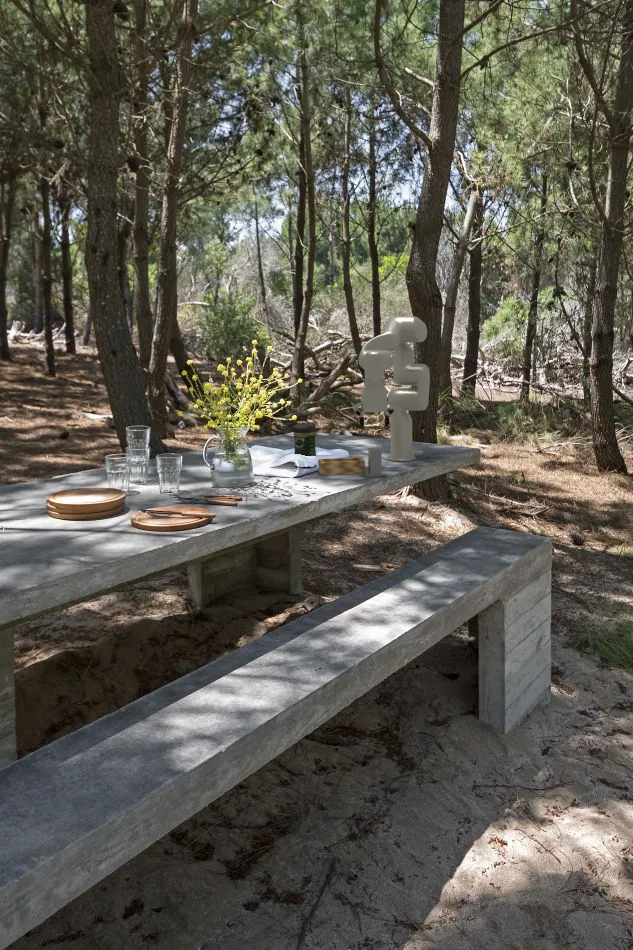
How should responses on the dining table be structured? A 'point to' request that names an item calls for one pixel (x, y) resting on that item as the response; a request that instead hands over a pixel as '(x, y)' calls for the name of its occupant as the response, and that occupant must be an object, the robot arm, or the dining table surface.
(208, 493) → the dining table surface
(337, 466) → the wooden box
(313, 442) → the coffee jar
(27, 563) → the dining table surface
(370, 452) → the grey rectangular block
